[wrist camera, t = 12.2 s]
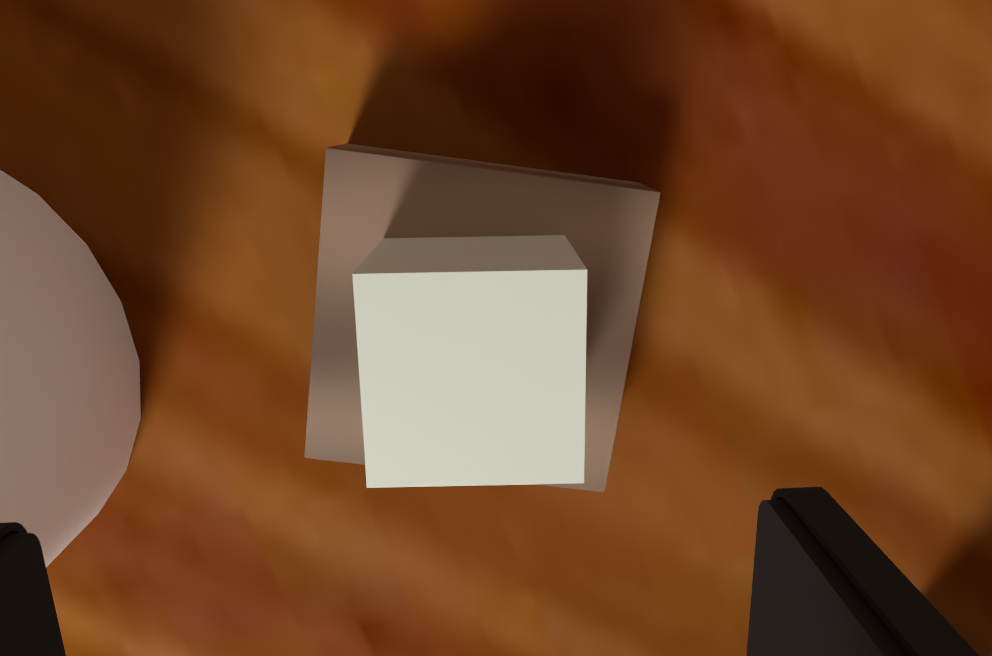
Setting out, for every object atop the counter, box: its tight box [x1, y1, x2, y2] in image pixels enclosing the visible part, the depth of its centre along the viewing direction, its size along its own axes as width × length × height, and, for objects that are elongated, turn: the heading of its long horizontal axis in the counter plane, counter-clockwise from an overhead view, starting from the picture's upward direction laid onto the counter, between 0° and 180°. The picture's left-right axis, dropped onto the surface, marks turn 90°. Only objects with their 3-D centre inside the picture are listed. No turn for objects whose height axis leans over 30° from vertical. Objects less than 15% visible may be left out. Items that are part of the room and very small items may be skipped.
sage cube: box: [352, 235, 587, 488], centre depth 21 cm, size 6×6×6 cm
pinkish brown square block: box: [305, 143, 660, 492], centre depth 26 cm, size 10×10×4 cm
